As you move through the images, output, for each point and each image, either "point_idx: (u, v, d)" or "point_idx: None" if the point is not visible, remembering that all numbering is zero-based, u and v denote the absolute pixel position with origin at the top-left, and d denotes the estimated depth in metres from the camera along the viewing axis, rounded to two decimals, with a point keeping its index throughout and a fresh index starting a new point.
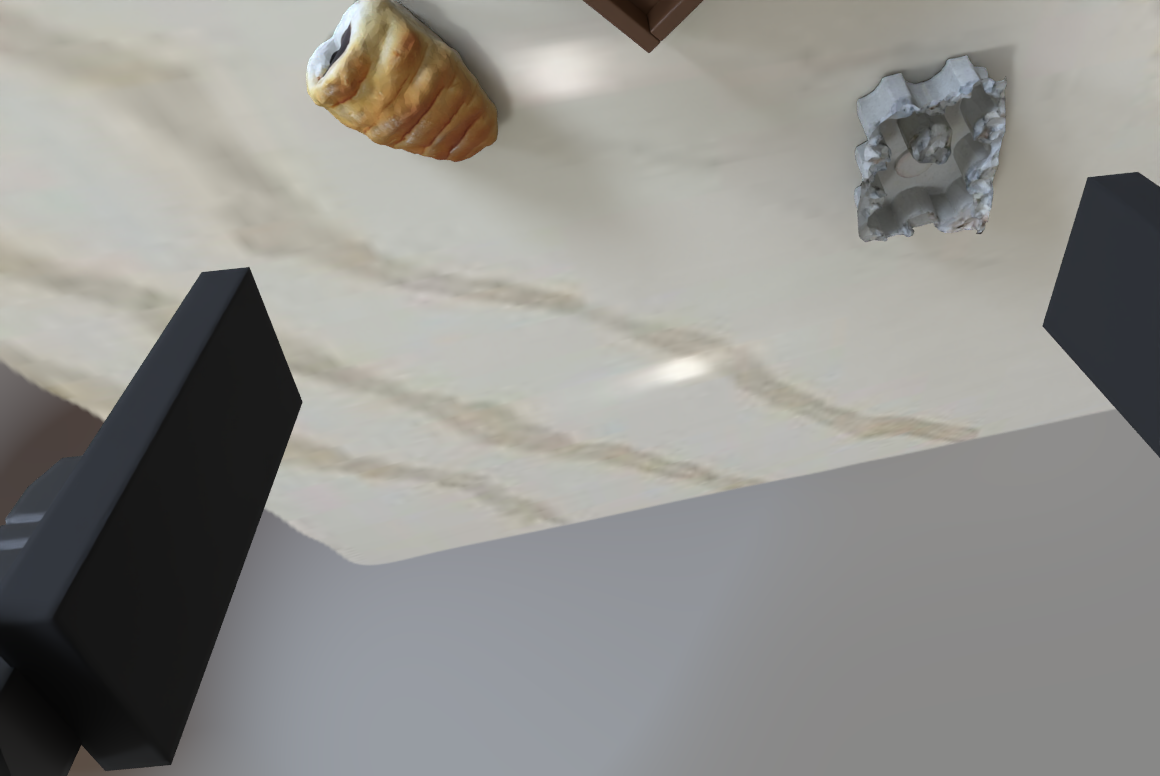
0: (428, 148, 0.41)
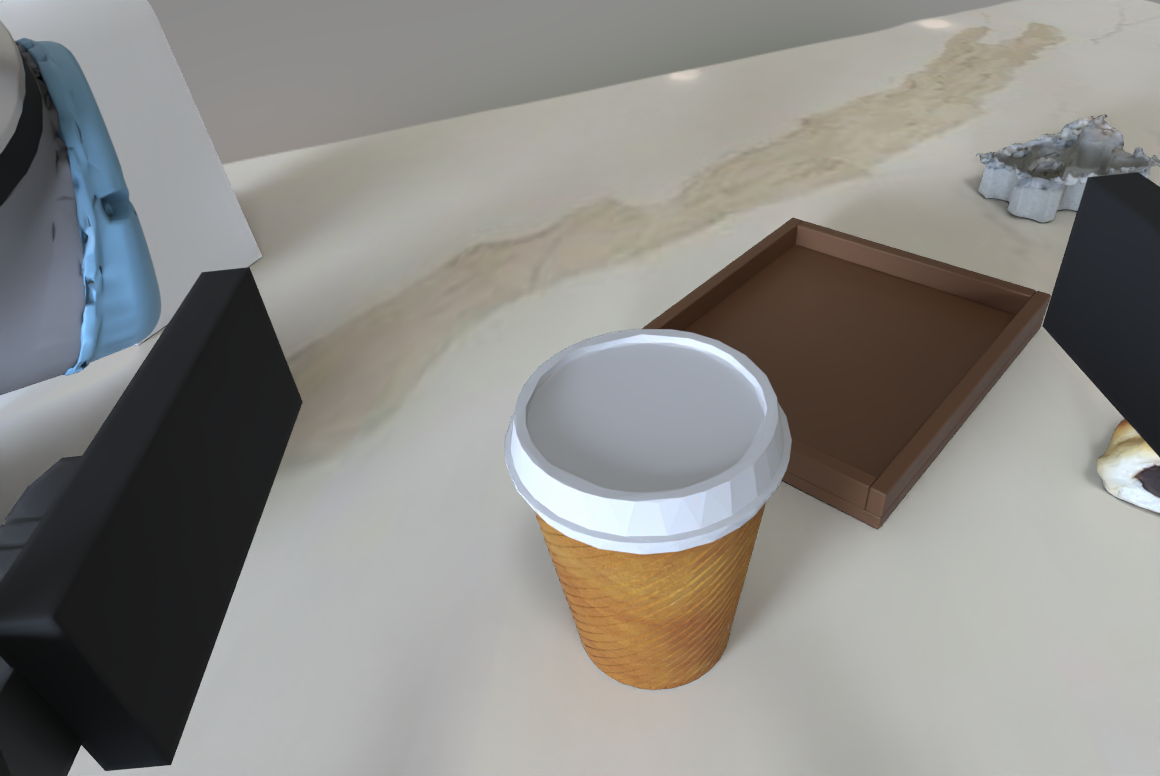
0: None
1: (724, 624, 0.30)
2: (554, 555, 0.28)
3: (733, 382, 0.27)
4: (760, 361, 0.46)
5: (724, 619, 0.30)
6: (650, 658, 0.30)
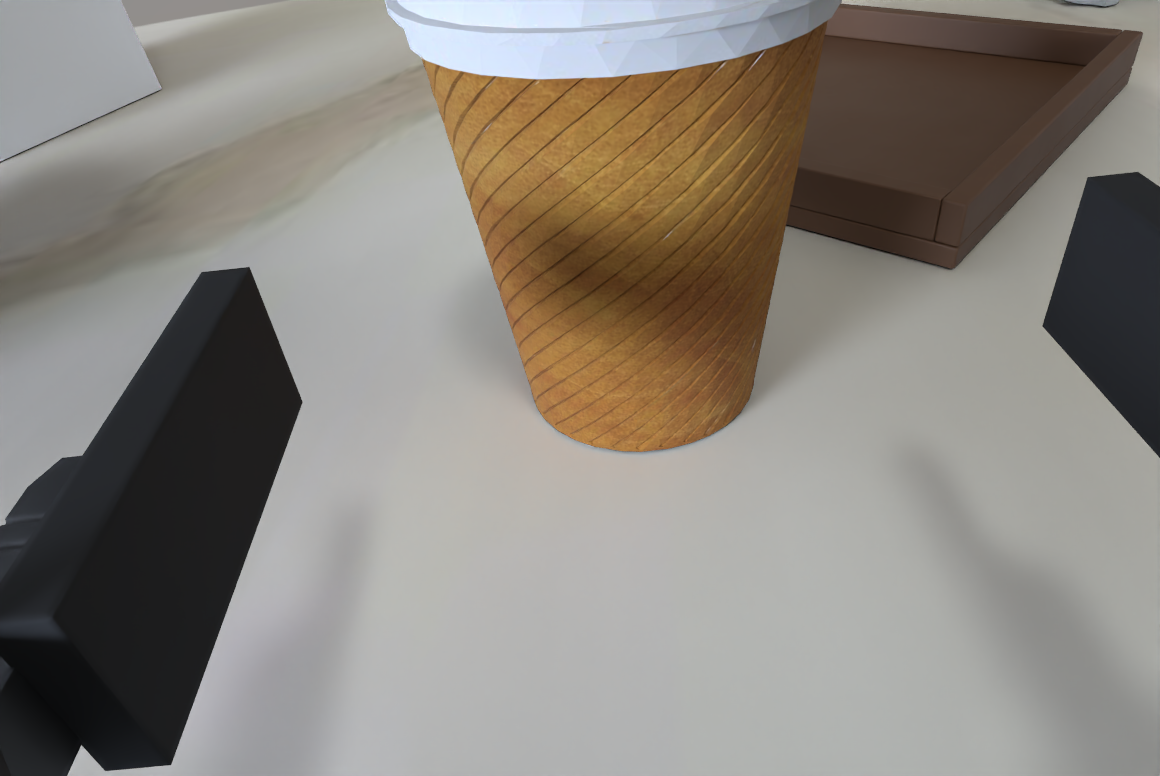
0: None
1: (749, 329, 0.19)
2: (475, 187, 0.17)
3: None
4: None
5: (749, 314, 0.19)
6: (635, 377, 0.19)
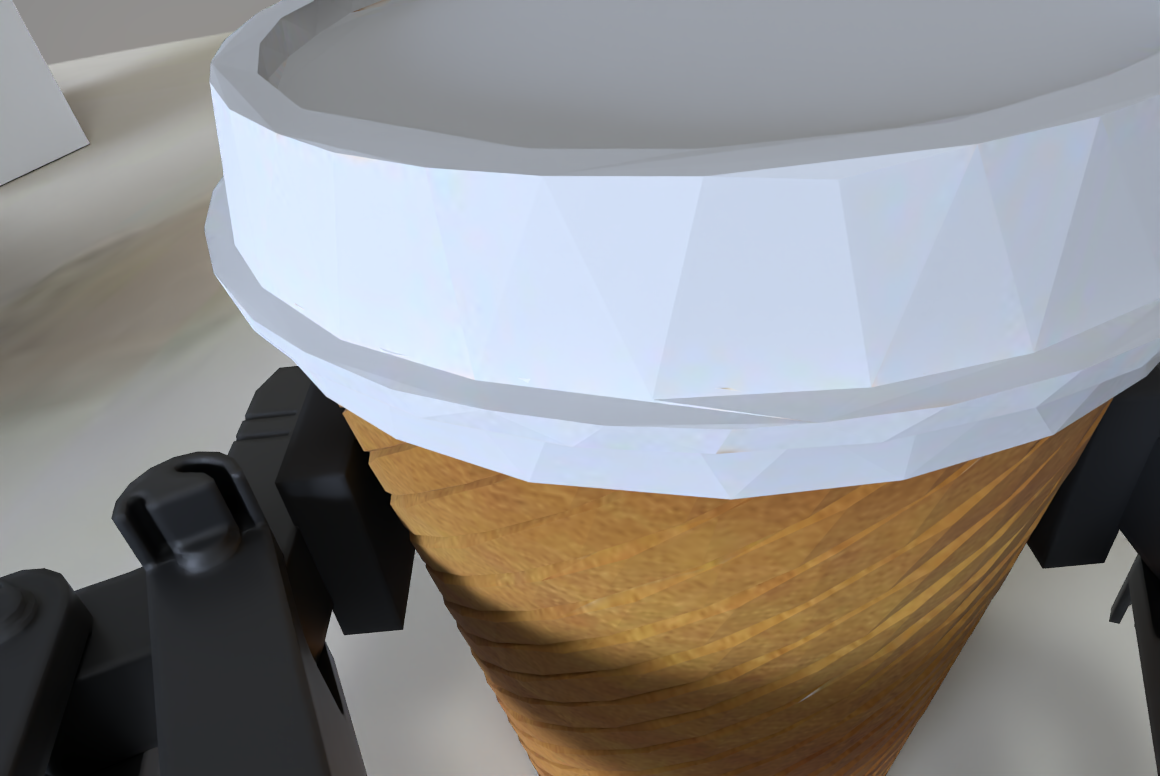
0: None
1: None
2: (412, 539, 0.09)
3: None
4: None
5: None
6: None
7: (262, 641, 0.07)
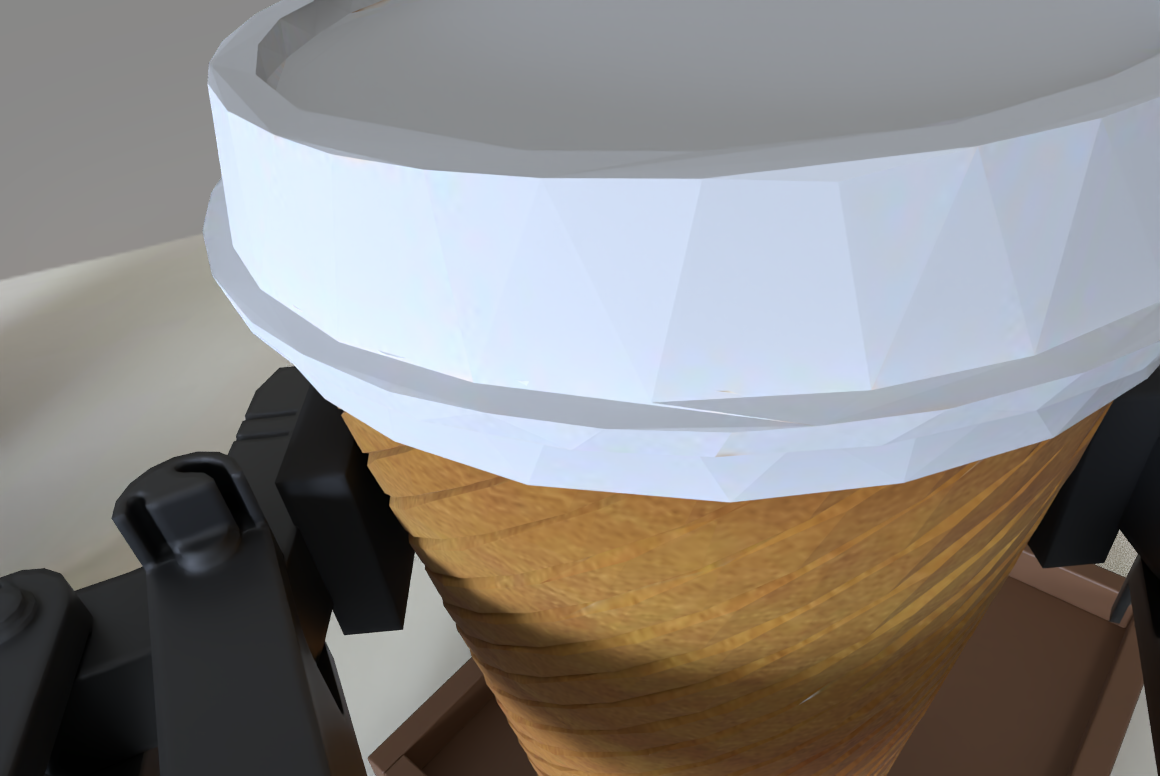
0: None
1: None
2: (411, 541, 0.09)
3: None
4: None
5: None
6: None
7: (262, 641, 0.07)
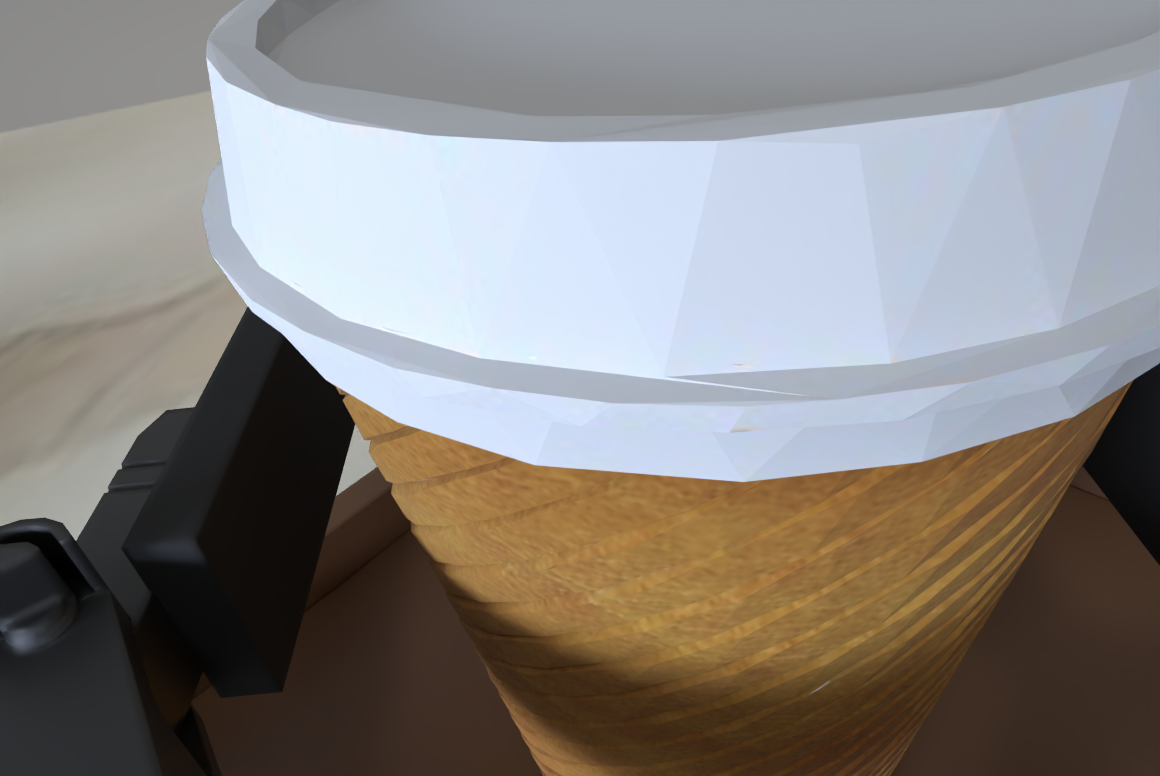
0: None
1: None
2: (413, 530, 0.09)
3: None
4: (483, 760, 0.14)
5: None
6: None
7: (104, 714, 0.07)
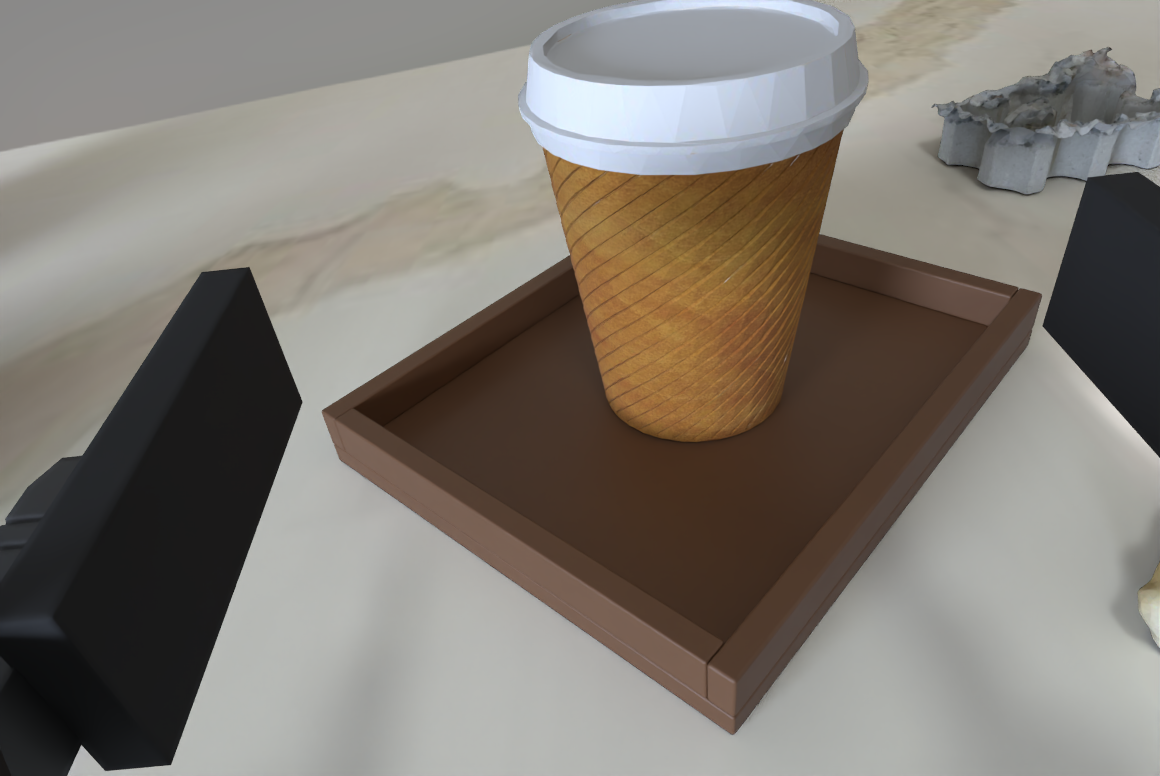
0: None
1: (782, 347, 0.25)
2: (580, 242, 0.23)
3: (792, 22, 0.23)
4: (583, 409, 0.29)
5: (783, 336, 0.25)
6: (696, 384, 0.25)
7: None
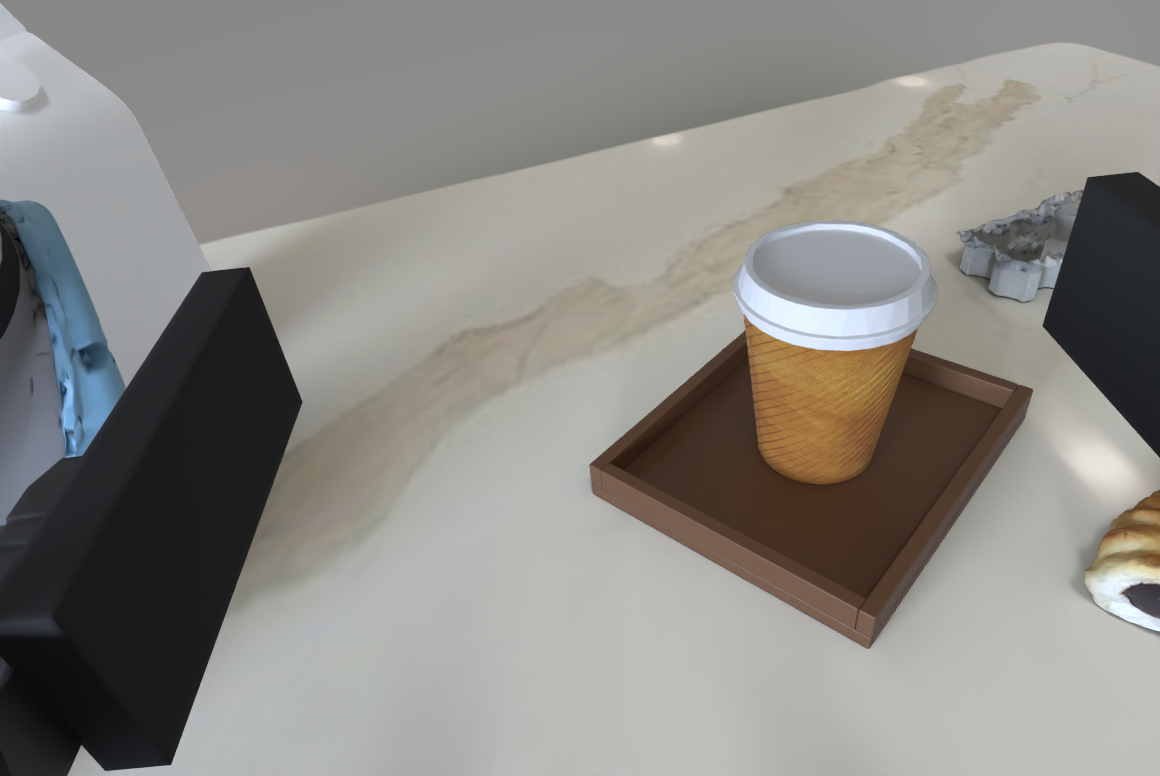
0: None
1: (879, 429, 0.42)
2: (767, 373, 0.40)
3: (890, 249, 0.40)
4: (747, 462, 0.46)
5: (880, 423, 0.42)
6: (829, 452, 0.42)
7: None
